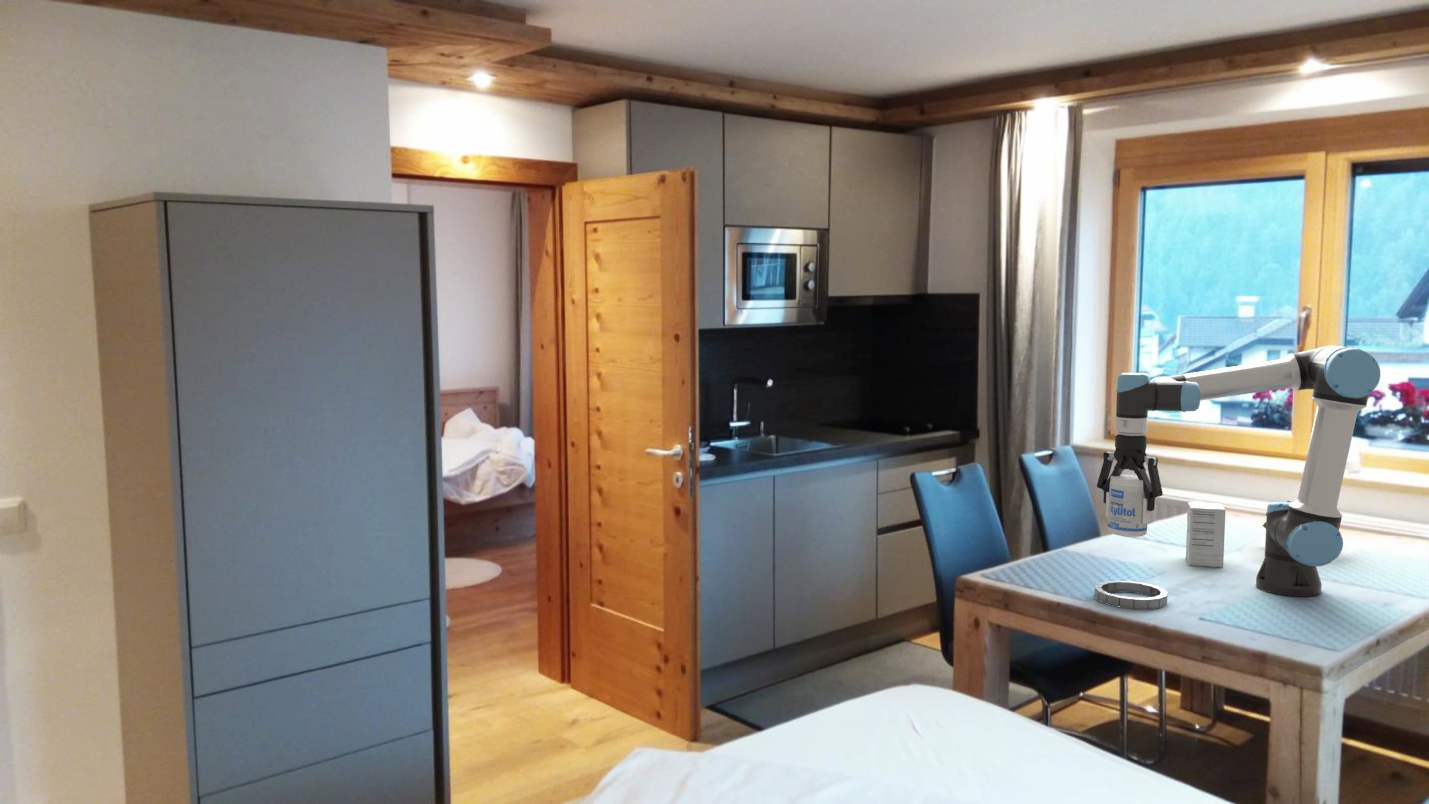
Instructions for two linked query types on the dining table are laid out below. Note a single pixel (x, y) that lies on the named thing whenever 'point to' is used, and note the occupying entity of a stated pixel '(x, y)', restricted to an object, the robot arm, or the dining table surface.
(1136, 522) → the supplement tub
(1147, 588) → the collar
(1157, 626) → the dining table surface
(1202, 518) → the supplement box
